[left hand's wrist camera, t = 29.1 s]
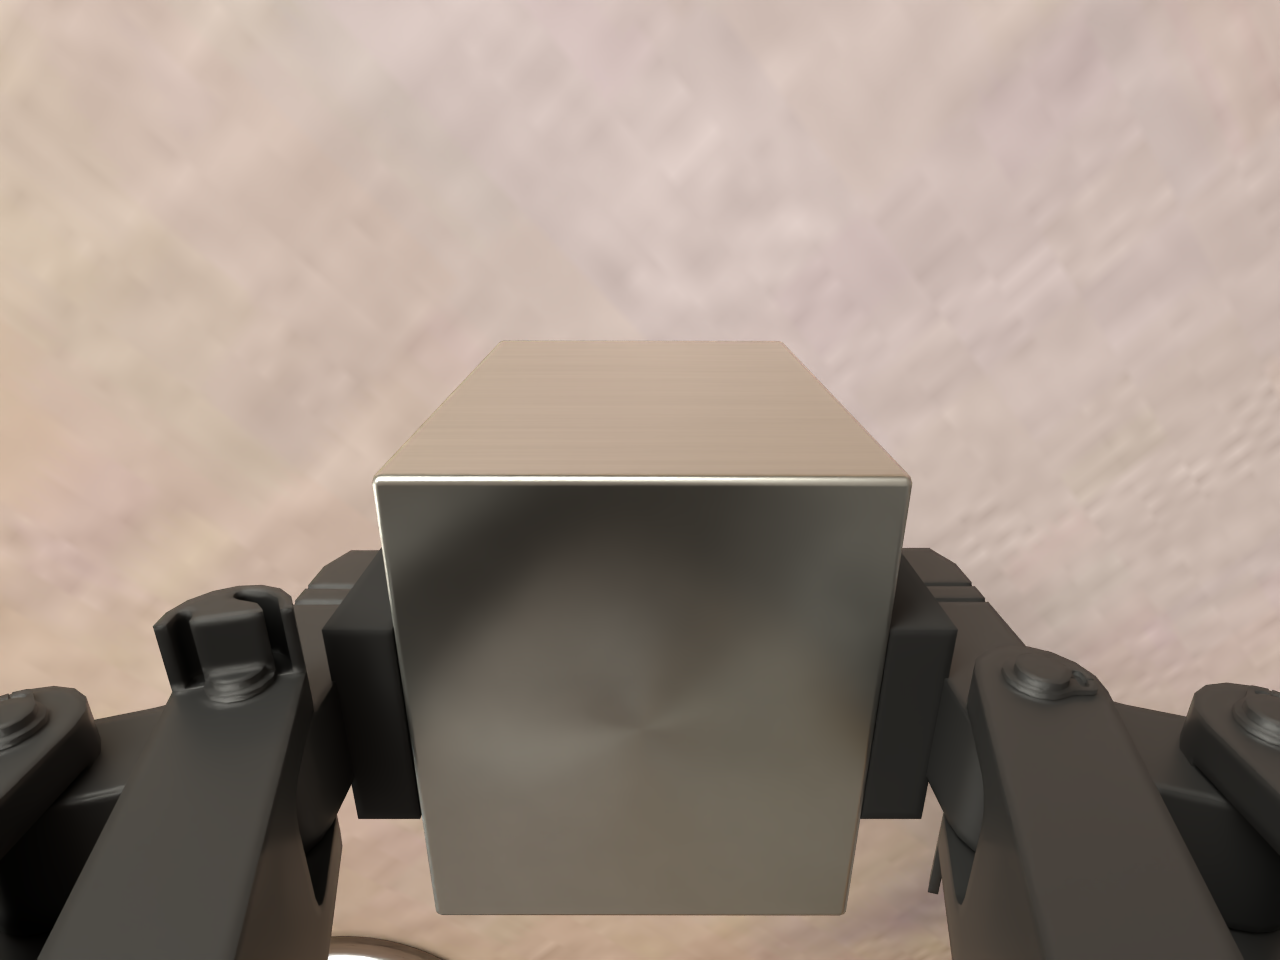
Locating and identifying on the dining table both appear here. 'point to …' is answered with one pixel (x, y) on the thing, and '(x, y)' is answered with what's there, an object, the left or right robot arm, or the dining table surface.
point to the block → (641, 628)
